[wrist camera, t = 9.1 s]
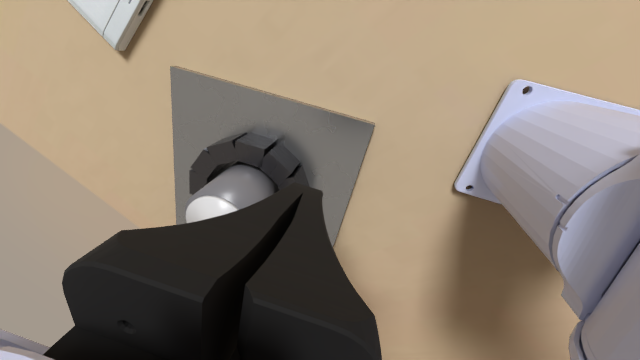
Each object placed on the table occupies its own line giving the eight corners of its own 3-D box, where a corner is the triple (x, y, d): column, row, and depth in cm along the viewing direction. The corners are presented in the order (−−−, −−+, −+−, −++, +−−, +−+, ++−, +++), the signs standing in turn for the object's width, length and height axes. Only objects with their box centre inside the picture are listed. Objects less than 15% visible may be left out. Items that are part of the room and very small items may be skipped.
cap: (289, 167, 21) (256, 209, 15) (279, 215, 23) (247, 265, 18) (232, 148, 21) (181, 182, 16) (228, 197, 24) (182, 241, 18)
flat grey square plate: (374, 123, 19) (374, 133, 16) (323, 273, 26) (317, 298, 23) (175, 66, 20) (144, 67, 17) (180, 225, 27) (159, 243, 25)
